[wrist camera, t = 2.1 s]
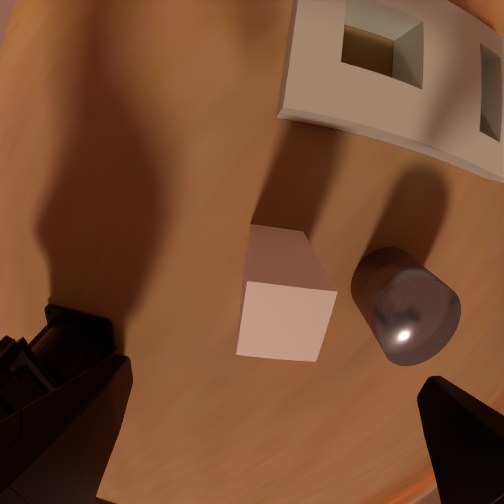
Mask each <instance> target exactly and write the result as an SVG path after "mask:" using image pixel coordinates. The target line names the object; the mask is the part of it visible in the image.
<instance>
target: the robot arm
mask: <svg viewBox="0 0 504 504" xmlns="http://www.w3.org/2000/svg"><path fill="white" fill-rule="evenodd" d="M45 315H46V319H47V325H46V326H45V327H44V328H43V329H42V330H41V332H40V333H39V334H38V335H37V336H36V337H35V338H34V339H33V340H32V341H31V342H30V343H29V344H28V343H27V341H26V340H25V339H24V337H22V338H20V339H19V340H17V341H15V339H12V338H10V337H9V336H7V335H6V336H5V337H3V338H2V339H1V341H0V504H93V503H94V500H95V497H96V494H97V491H98V488H99V485H100V483H101V480H102V477H103V474H104V472H105V469H106V466H107V463H108V461H109V458H110V455H111V453H112V450H113V448H114V445H115V442H116V440H117V437H118V435H119V432H120V429H121V426H122V422H123V418H124V414H125V410H126V406H127V403H128V399H129V395H130V392H131V388H132V384H133V375H132V368H131V361H130V358H129V357H128V356H124V355H120V354H118V350H117V347H116V345H115V342H114V334H113V326H112V323H111V322H110V321H109V320H108V319H105V318H101V317H97V316H92V315H88V314H84V313H81V312H77V311H73V310H69V309H65V308H62V307H58V306H55V305H51V304H48V305H47V306H46V307H45ZM104 324H105V325H106V326H107V327H106V326H105V325H104ZM27 344H28V345H27ZM417 402H418V407H419V412H420V416H421V421H422V426H423V432H424V437H425V441H426V445H427V448H428V452H429V455H430V459H431V463H432V466H433V470H434V474H435V478H436V483H437V487H438V491H439V496H440V500H441V504H504V416H503V415H502V414H500V413H499V412H497V411H495V410H494V409H492V408H491V407H489V406H487V405H486V404H484V403H483V402H481V401H479V400H478V399H476V398H475V397H473V396H472V395H470V394H468V393H467V392H465V391H464V390H462V389H460V388H459V387H457V386H456V385H454V384H452V383H451V382H449V381H448V380H446V379H445V378H443V377H441V376H431V377H429V378H428V379H427V380H426V382H425V384H424V385H423V387H422V389H421V391H420V392H419V394H418V397H417Z"/></svg>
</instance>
